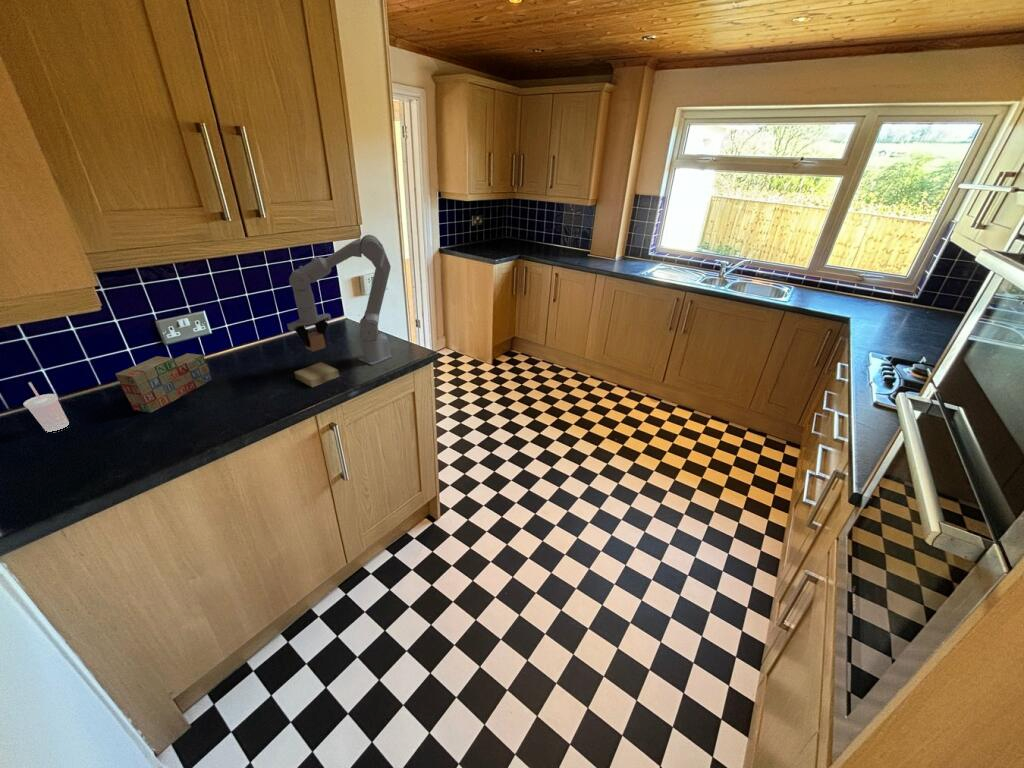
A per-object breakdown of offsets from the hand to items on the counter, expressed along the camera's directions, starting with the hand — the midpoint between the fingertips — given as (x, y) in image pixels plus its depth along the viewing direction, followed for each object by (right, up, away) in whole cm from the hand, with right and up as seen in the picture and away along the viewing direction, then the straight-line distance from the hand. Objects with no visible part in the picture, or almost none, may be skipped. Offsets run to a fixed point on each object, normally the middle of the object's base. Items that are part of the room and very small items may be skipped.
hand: (315, 343), depth 141 cm
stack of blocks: (-36, -18, -15) cm, 43 cm away
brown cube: (0, -1, +1) cm, 2 cm away
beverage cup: (-54, -26, -32) cm, 68 cm away
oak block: (+3, -12, -4) cm, 13 cm away
